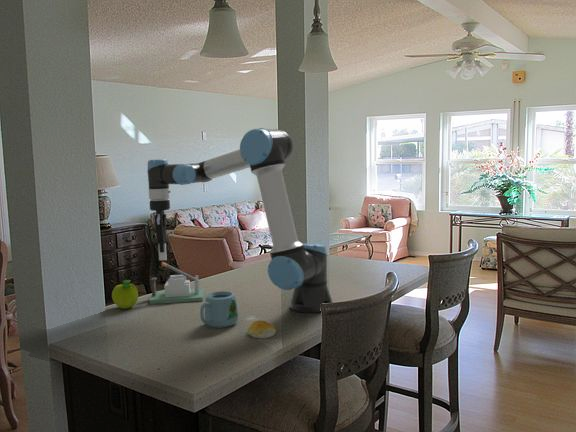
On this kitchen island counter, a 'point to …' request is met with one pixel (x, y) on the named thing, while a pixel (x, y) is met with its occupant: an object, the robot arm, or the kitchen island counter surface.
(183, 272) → the wooden stick
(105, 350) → the kitchen island counter surface
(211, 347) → the kitchen island counter surface
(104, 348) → the kitchen island counter surface
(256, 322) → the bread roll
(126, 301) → the fruit
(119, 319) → the kitchen island counter surface
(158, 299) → the heatsink board
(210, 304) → the mug
